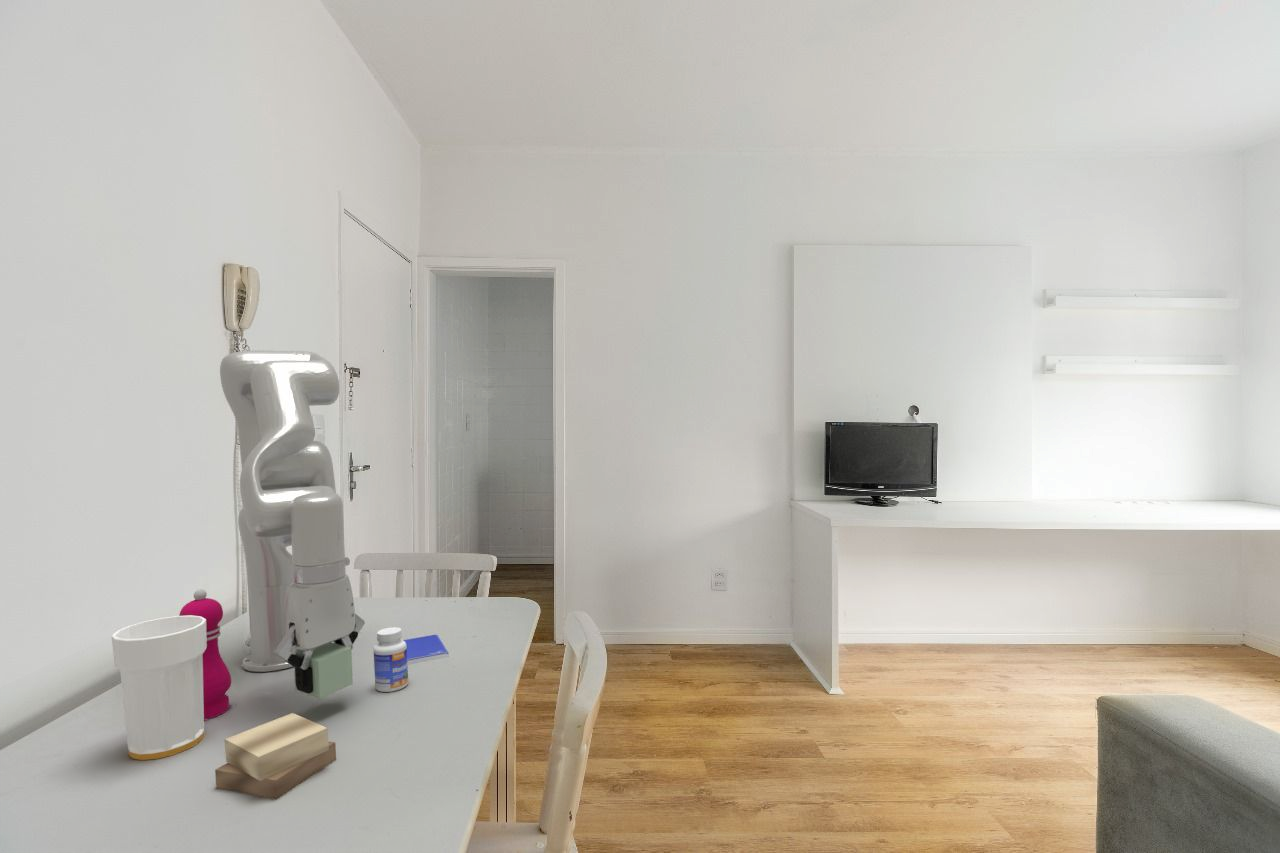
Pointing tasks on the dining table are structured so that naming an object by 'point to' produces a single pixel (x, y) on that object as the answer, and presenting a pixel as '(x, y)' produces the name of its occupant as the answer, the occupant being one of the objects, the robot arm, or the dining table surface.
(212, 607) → the pepper mill
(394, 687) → the pill bottle
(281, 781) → the walnut base block
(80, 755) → the dining table surface
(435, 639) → the hard drive
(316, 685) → the sage block
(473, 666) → the dining table surface
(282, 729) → the oak top block
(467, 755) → the dining table surface
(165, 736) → the cup
